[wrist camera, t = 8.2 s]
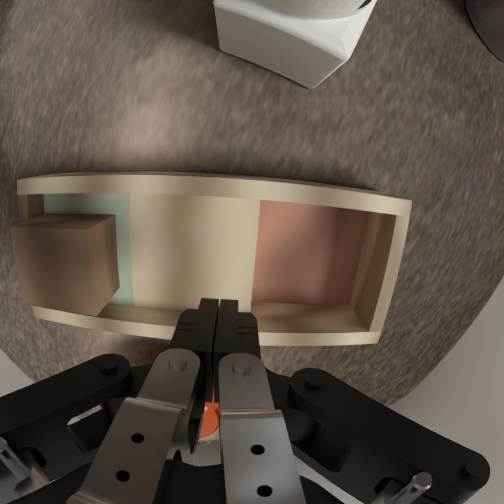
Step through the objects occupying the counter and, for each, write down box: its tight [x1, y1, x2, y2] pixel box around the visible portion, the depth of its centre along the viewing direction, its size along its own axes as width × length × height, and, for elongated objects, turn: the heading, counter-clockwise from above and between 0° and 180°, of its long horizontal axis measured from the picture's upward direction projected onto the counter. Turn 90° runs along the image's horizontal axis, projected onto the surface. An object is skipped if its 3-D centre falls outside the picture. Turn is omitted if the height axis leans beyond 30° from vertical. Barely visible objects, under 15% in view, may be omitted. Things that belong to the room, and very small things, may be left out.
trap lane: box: [17, 171, 412, 346], centre depth 18 cm, size 25×10×4 cm, turn 85°
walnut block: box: [10, 213, 120, 316], centre depth 15 cm, size 6×5×4 cm
